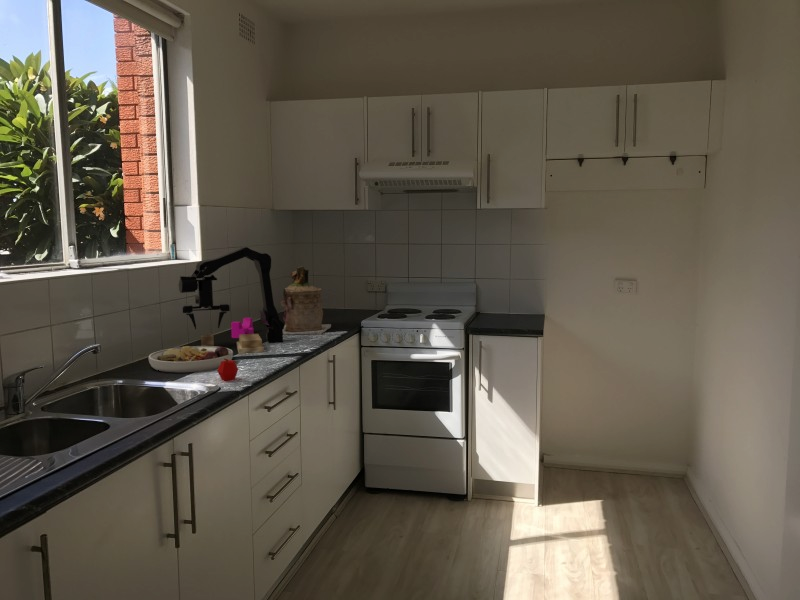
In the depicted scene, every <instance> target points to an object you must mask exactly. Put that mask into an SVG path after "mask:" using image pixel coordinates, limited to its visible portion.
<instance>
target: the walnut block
mask: <svg viewBox="0 0 800 600" xmlns="http://www.w3.org/2000/svg"><path fill="white" fill-rule="evenodd" d="M214 338H215V337H214V334H212V333H211V334H200V344H201V345H200V346H215V341H214Z"/></svg>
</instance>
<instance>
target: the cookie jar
mask: <svg viewBox="0 0 800 600" xmlns="http://www.w3.org/2000/svg"><path fill="white" fill-rule="evenodd" d="M309 272H310V270H309V269H307V268H305V267H304V266H302V265H301V266H300V267H299V266H298V267H296V270H295V271H292V272H290V278H291V280H292V279H293V281H292V282H291V284H289V285H288V286H287V287H284V289H283V290H282V297H283V300H282V301H280V305H281V307H283V309H284V312H283V317H282V318H283V319H282V320H283V321H284V324H285V326H284V329H283V336H285V335H314V336H315V335H317V336H322V334H323V333H325V332H326V331H327V330H329V329H331V327H332V324H330V323H327V324H325V323H324V324H322V322H323V316H324V310H323V305H322V304H323V303H322V298H321V295H322V293H323V289H322V288H321V287H316V286H314V285H312V284H311V283H310V282H309Z"/></svg>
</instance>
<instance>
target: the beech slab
mask: <svg viewBox="0 0 800 600" xmlns="http://www.w3.org/2000/svg"><path fill="white" fill-rule="evenodd" d="M236 349H237V352H238V354H239V355H244V354H245V355H246V353H248V354H260V353H261V354H262V353H265V346H264V345H263V343H262V347H258V348H242V347H241V345H240V343H239V340H238V341H236Z"/></svg>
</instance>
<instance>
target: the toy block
mask: <svg viewBox="0 0 800 600" xmlns="http://www.w3.org/2000/svg"><path fill="white" fill-rule="evenodd" d="M230 323H231V324H230V325H231V326H230V328H231V331H230V332H231V338H232V339H239V335H243V334H255V332H254V330H255V329H254V327H253V323H254V322H253V317H243V319H242V321H232V322H230Z"/></svg>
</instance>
